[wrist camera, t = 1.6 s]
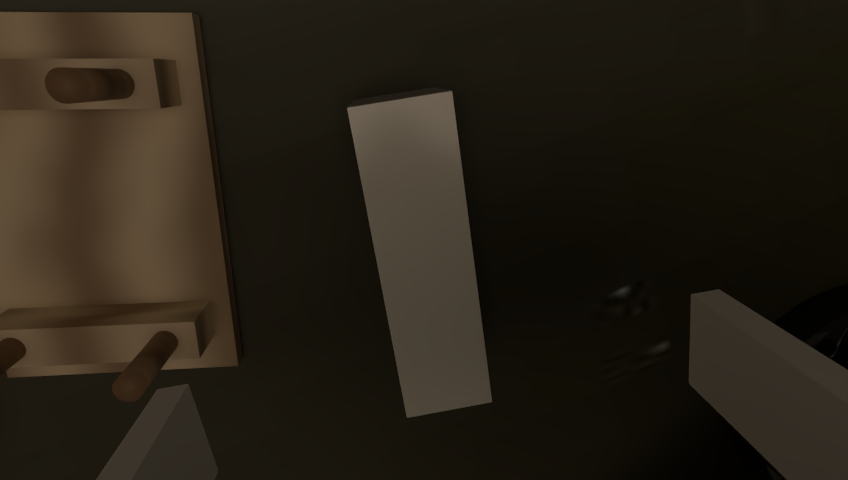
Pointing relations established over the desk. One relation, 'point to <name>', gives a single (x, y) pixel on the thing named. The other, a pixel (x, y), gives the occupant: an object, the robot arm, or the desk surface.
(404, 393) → the grey rectangular block
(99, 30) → the rack
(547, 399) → the desk surface
